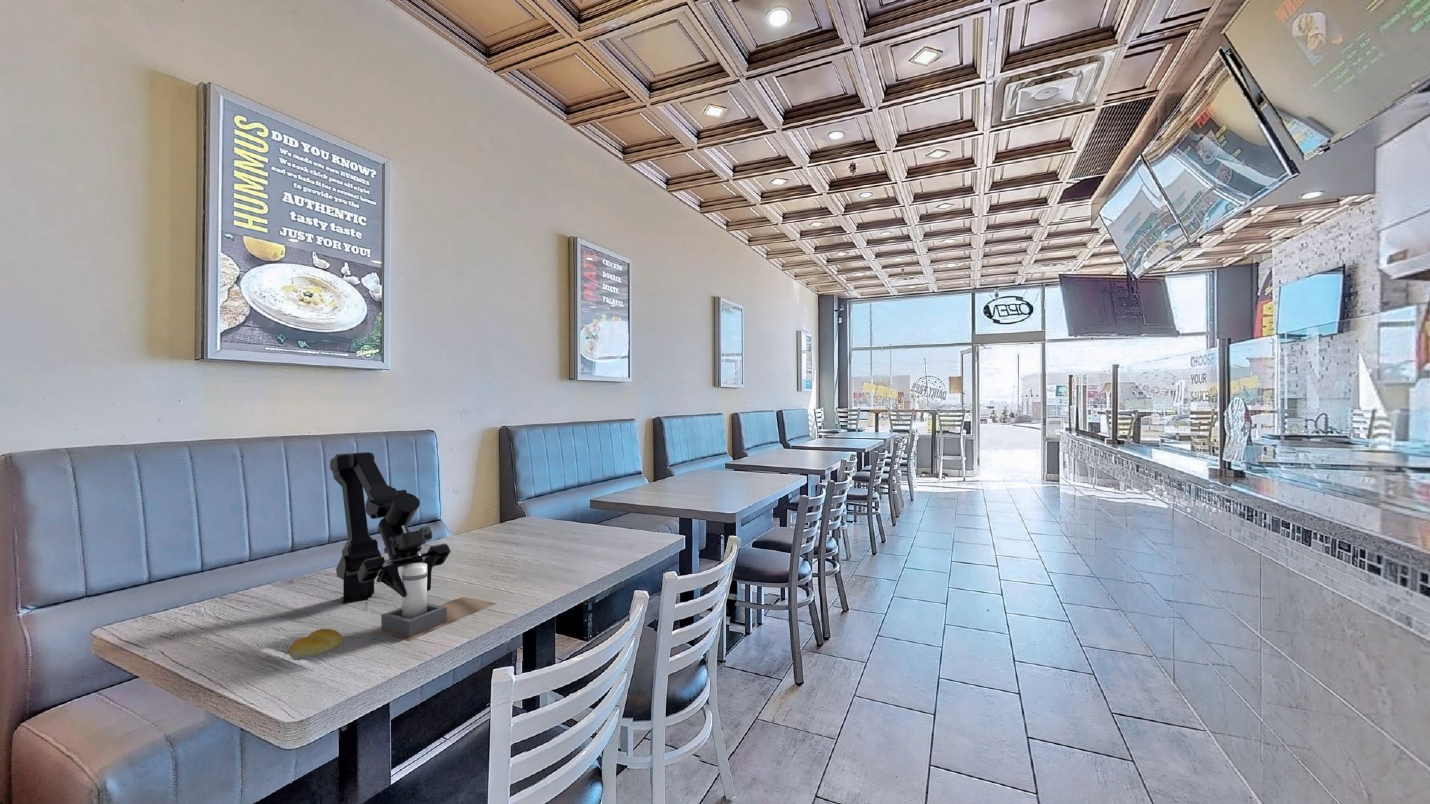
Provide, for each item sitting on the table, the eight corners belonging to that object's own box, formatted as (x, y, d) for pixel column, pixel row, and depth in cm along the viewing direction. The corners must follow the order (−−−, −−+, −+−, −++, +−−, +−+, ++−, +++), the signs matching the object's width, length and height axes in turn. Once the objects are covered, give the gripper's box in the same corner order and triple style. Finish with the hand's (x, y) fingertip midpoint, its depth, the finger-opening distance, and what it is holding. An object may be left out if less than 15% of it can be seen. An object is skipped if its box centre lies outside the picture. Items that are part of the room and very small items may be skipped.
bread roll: (278, 660, 108) (279, 641, 108) (318, 641, 117) (318, 623, 117) (313, 664, 107) (313, 644, 107) (351, 644, 116) (351, 626, 116)
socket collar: (409, 638, 117) (409, 622, 117) (381, 630, 121) (381, 614, 121) (446, 622, 125) (446, 607, 125) (419, 615, 129) (419, 601, 129)
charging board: (408, 644, 115) (408, 640, 115) (373, 634, 120) (373, 631, 120) (496, 606, 137) (496, 603, 137) (462, 599, 142) (462, 596, 142)
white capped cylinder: (397, 625, 120) (398, 570, 120) (406, 616, 125) (407, 563, 125) (422, 624, 121) (422, 569, 121) (430, 615, 126) (430, 562, 126)
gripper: (362, 524, 118) (383, 584, 111) (447, 511, 133) (469, 563, 126) (349, 553, 123) (367, 612, 116) (432, 537, 138) (453, 589, 131)
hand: (417, 593), depth 122 cm, fingers closed on white capped cylinder, 5 cm apart
